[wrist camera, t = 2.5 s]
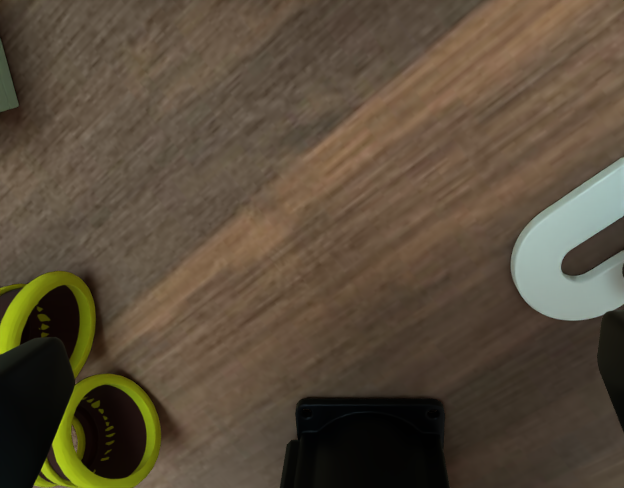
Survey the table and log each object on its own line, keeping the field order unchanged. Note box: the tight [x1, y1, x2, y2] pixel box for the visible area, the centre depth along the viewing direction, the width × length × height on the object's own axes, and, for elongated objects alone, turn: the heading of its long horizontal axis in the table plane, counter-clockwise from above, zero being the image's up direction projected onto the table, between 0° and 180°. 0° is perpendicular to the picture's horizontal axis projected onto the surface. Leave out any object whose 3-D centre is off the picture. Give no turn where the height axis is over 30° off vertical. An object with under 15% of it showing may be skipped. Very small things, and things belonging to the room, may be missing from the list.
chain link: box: [511, 156, 624, 321], centre depth 20 cm, size 8×1×5 cm
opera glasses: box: [0, 271, 161, 488], centre depth 23 cm, size 10×5×5 cm, turn 19°
